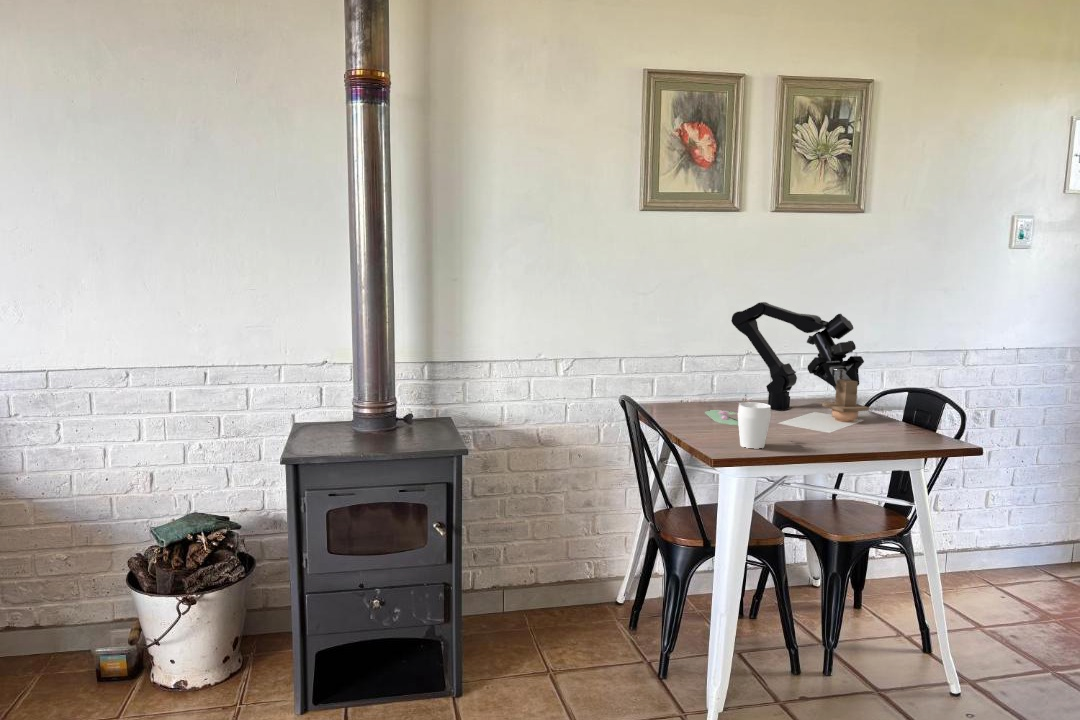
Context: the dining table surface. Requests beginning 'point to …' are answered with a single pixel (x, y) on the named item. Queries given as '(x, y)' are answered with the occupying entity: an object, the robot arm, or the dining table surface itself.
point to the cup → (753, 424)
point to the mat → (818, 422)
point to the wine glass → (838, 374)
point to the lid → (846, 397)
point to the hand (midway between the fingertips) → (846, 385)
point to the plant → (720, 415)
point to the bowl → (844, 415)
